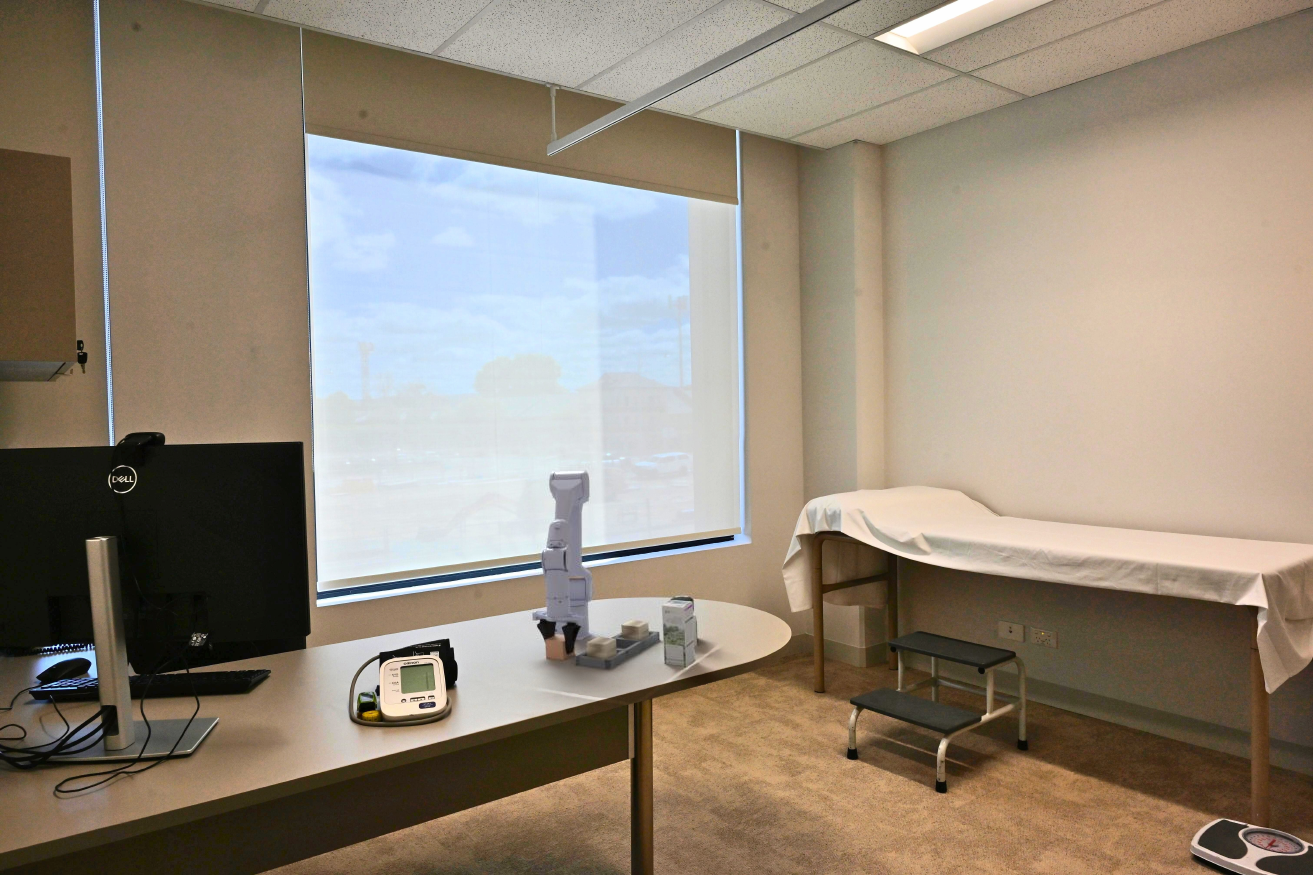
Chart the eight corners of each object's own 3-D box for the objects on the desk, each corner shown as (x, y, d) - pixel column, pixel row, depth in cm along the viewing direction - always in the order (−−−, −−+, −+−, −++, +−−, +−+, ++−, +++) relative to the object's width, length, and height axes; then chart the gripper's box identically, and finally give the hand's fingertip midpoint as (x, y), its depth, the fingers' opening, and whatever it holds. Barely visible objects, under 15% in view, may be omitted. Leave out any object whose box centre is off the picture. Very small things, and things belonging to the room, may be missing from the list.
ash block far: (622, 644, 206) (621, 624, 206) (632, 638, 210) (631, 619, 210) (639, 646, 204) (638, 626, 203) (649, 640, 208) (648, 621, 208)
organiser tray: (575, 667, 191) (575, 656, 191) (629, 638, 213) (628, 628, 213) (608, 672, 187) (608, 660, 187) (659, 641, 209) (659, 631, 209)
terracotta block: (546, 659, 198) (545, 639, 197) (558, 653, 202) (557, 634, 202) (563, 662, 195) (562, 641, 195) (574, 656, 200) (574, 636, 199)
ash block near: (587, 663, 192) (586, 642, 192) (599, 657, 196) (598, 636, 196) (605, 665, 190) (604, 644, 189) (616, 659, 194) (615, 638, 194)
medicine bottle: (697, 648, 203) (696, 600, 202) (669, 648, 203) (667, 601, 202) (696, 639, 210) (695, 593, 209) (669, 640, 210) (667, 594, 209)
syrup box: (695, 660, 193) (693, 600, 192) (686, 668, 187) (683, 606, 187) (673, 658, 195) (671, 598, 194) (663, 666, 190) (661, 604, 189)
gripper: (523, 597, 198) (526, 652, 199) (573, 602, 191) (576, 659, 192) (541, 591, 204) (543, 644, 205) (589, 595, 197) (592, 651, 198)
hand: (560, 651), depth 199 cm, fingers closed on terracotta block, 5 cm apart
